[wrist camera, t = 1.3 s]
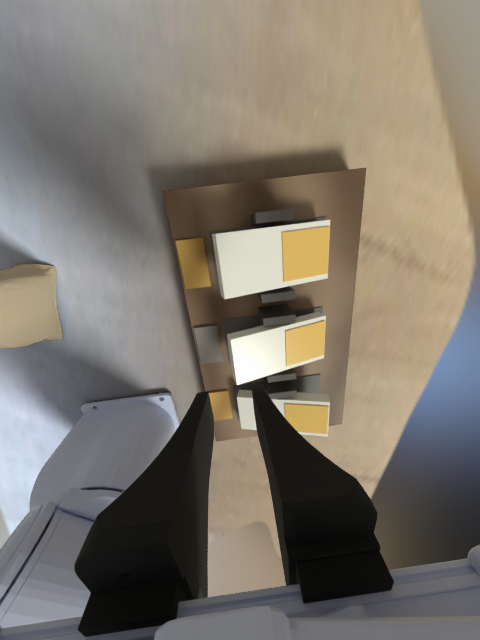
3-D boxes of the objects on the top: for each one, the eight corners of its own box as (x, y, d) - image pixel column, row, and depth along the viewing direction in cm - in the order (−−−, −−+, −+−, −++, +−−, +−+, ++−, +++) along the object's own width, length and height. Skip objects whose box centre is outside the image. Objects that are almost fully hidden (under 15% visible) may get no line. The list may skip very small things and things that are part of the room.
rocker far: (243, 420, 23) (241, 429, 22) (238, 389, 21) (236, 398, 20) (326, 427, 21) (327, 437, 20) (328, 394, 19) (330, 403, 18)
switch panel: (216, 426, 26) (215, 464, 22) (169, 195, 17) (150, 183, 12) (333, 410, 26) (354, 445, 22) (350, 174, 17) (392, 156, 13)
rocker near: (221, 295, 15) (225, 299, 14) (211, 234, 14) (215, 234, 13) (319, 276, 17) (328, 278, 16) (320, 220, 16) (331, 219, 15)
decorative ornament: (15, 332, 20) (-53, 365, 15) (-1, 236, 17) (-92, 239, 12) (63, 339, 21) (13, 374, 16) (56, 248, 18) (-8, 256, 13)
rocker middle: (233, 377, 18) (237, 386, 17) (226, 334, 16) (231, 340, 15) (316, 352, 20) (324, 358, 19) (318, 311, 18) (326, 315, 17)
